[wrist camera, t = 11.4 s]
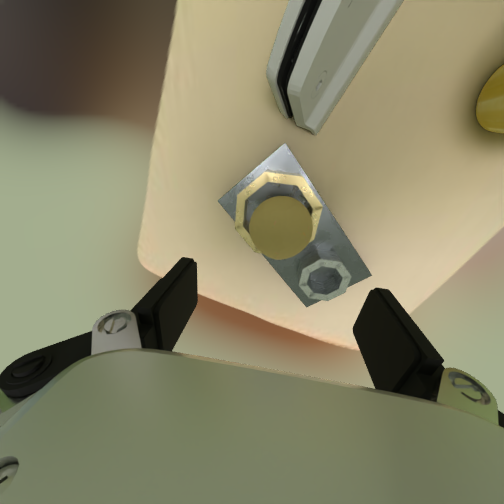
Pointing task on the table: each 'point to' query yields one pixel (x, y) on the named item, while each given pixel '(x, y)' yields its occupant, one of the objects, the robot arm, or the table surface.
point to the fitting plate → (323, 230)
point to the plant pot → (492, 103)
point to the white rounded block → (322, 53)
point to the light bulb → (281, 227)
